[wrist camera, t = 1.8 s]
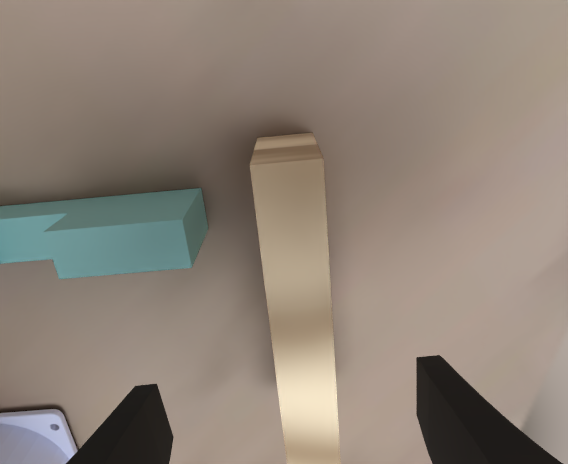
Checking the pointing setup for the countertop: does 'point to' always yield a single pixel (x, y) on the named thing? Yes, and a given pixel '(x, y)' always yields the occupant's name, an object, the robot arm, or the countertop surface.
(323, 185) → the beige flat bar
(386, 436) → the countertop surface
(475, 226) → the countertop surface
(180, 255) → the teal long bar
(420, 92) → the countertop surface
